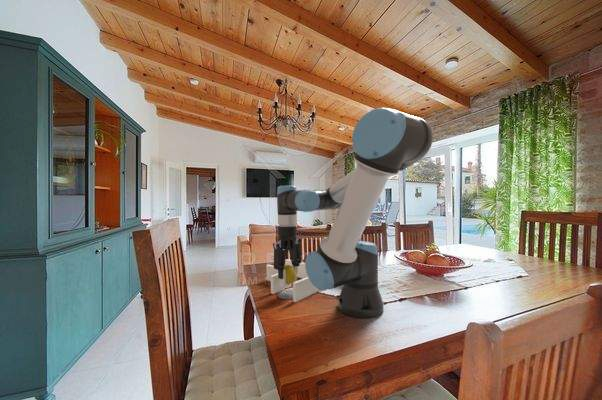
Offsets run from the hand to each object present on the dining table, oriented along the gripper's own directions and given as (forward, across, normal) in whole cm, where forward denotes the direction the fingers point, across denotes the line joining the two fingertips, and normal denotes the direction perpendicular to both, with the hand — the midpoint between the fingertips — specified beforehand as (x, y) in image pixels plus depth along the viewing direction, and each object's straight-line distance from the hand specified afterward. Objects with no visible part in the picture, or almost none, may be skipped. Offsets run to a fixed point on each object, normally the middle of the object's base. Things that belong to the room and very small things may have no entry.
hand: (288, 284), depth 100 cm
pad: (+4, 0, 0) cm, 4 cm away
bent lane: (+4, -8, -7) cm, 11 cm away
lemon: (+1, 0, 0) cm, 1 cm away
